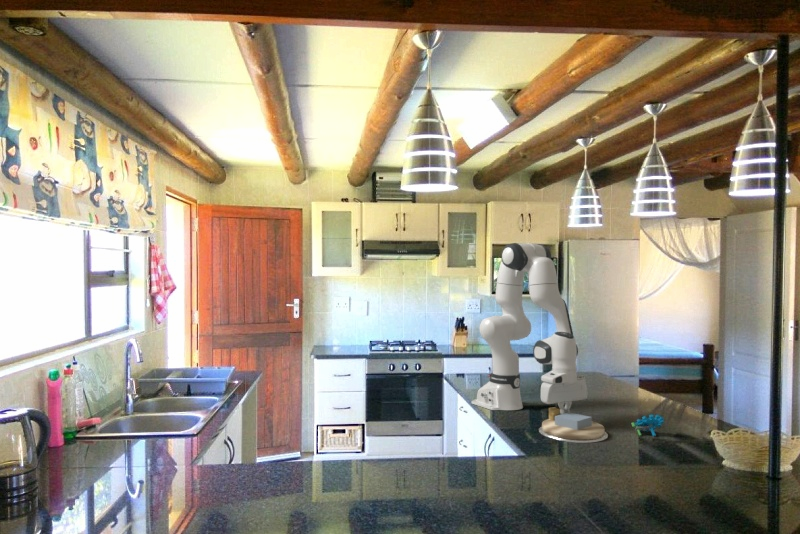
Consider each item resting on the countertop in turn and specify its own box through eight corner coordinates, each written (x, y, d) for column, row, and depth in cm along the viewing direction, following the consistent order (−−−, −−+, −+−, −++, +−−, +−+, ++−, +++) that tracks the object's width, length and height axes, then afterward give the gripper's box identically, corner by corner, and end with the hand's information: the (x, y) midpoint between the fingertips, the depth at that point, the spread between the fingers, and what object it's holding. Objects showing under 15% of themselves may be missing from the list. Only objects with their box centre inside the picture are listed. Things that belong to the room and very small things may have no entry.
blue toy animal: (660, 426, 190) (665, 411, 183) (666, 441, 185) (672, 426, 179) (628, 429, 191) (632, 415, 184) (634, 445, 186) (638, 430, 180)
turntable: (618, 435, 182) (618, 417, 182) (571, 442, 173) (571, 424, 173) (573, 420, 201) (573, 404, 201) (529, 427, 192) (529, 410, 192)
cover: (554, 424, 188) (554, 416, 188) (569, 420, 193) (569, 412, 193) (577, 430, 181) (577, 421, 181) (591, 425, 186) (591, 417, 187)
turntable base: (525, 432, 188) (525, 430, 188) (561, 421, 203) (561, 420, 203) (585, 447, 170) (585, 445, 171) (620, 434, 186) (620, 432, 186)
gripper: (578, 372, 205) (579, 408, 205) (537, 376, 196) (537, 414, 196) (591, 375, 200) (591, 412, 199) (549, 379, 190) (549, 418, 190)
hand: (564, 413), depth 197 cm, fingers closed
